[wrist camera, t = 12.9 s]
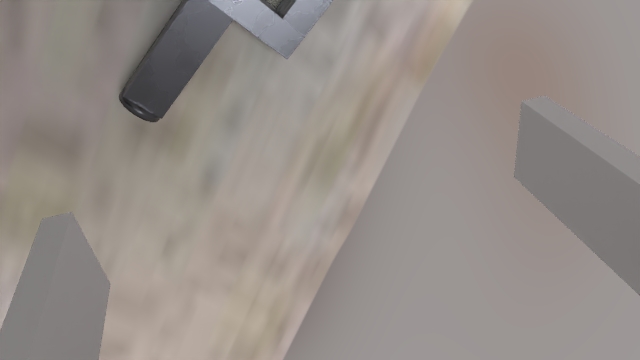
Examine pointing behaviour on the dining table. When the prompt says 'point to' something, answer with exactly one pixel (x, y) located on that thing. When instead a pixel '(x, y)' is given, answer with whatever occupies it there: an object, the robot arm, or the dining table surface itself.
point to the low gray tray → (210, 45)
